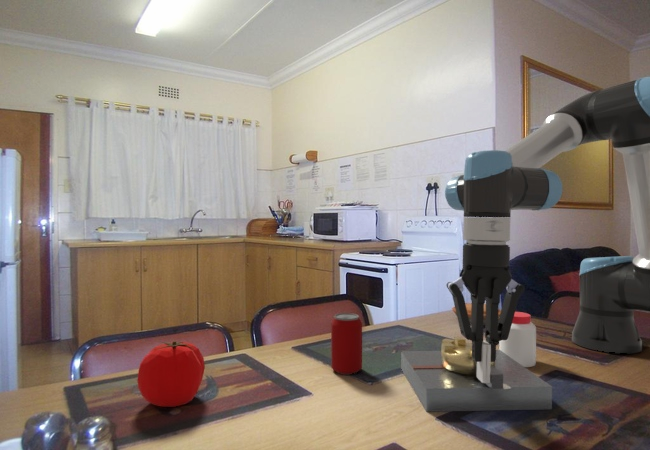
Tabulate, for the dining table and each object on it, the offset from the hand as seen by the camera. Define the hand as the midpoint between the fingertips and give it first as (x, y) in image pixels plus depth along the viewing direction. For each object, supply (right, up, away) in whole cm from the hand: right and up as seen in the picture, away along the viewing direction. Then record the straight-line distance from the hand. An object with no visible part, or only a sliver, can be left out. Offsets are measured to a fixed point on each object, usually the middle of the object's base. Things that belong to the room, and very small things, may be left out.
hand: (483, 379), depth 71 cm
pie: (+22, -5, +63) cm, 67 cm away
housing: (+1, -5, +10) cm, 12 cm away
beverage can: (-22, -5, +20) cm, 30 cm away
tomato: (-55, -6, +5) cm, 55 cm away
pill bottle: (+17, -5, +25) cm, 31 cm away
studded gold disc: (+1, -1, +7) cm, 7 cm away
